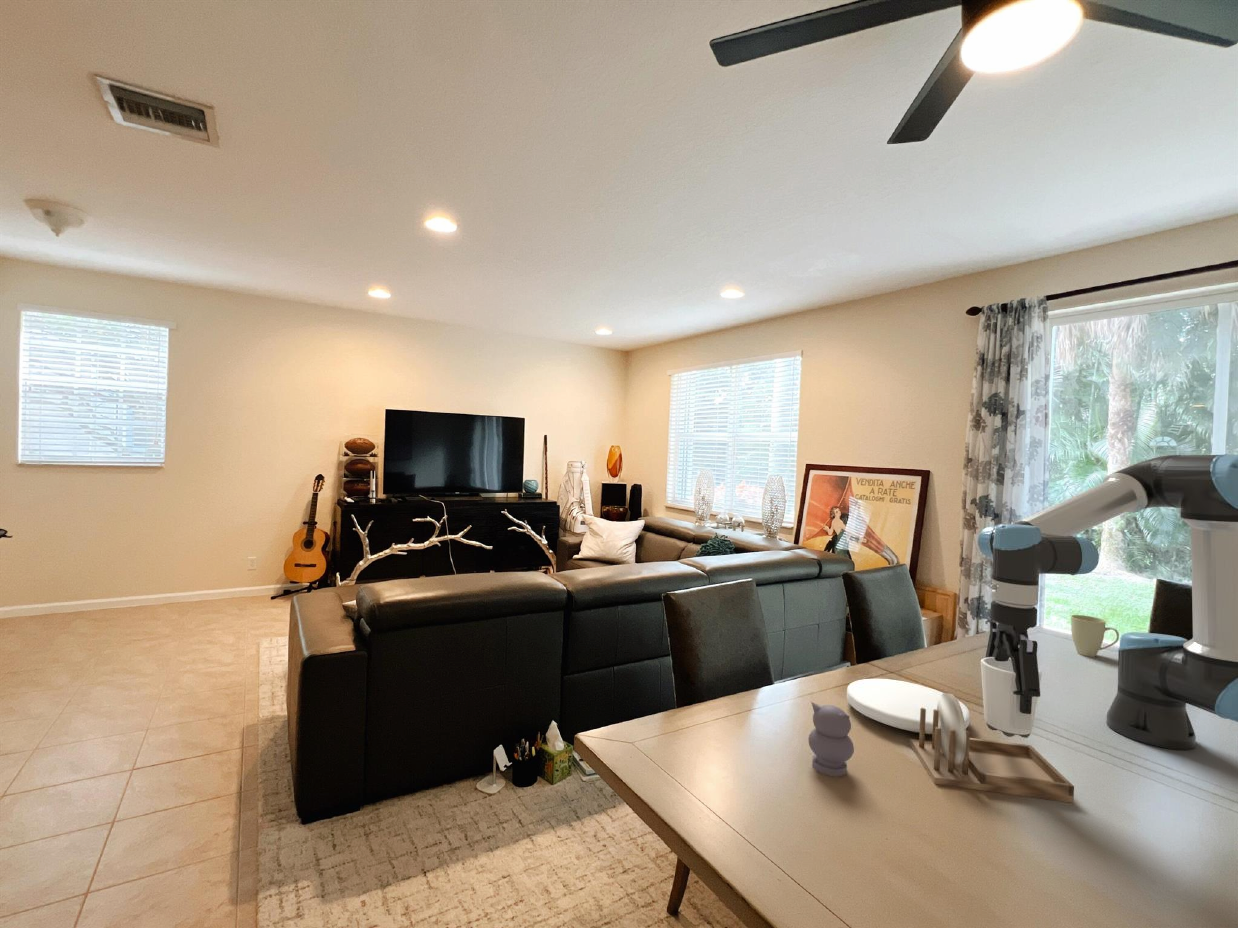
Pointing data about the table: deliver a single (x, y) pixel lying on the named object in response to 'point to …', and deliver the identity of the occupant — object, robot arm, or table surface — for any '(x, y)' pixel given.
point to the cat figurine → (830, 740)
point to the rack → (984, 759)
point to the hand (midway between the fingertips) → (1008, 716)
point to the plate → (897, 703)
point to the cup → (1001, 696)
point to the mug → (1089, 634)
